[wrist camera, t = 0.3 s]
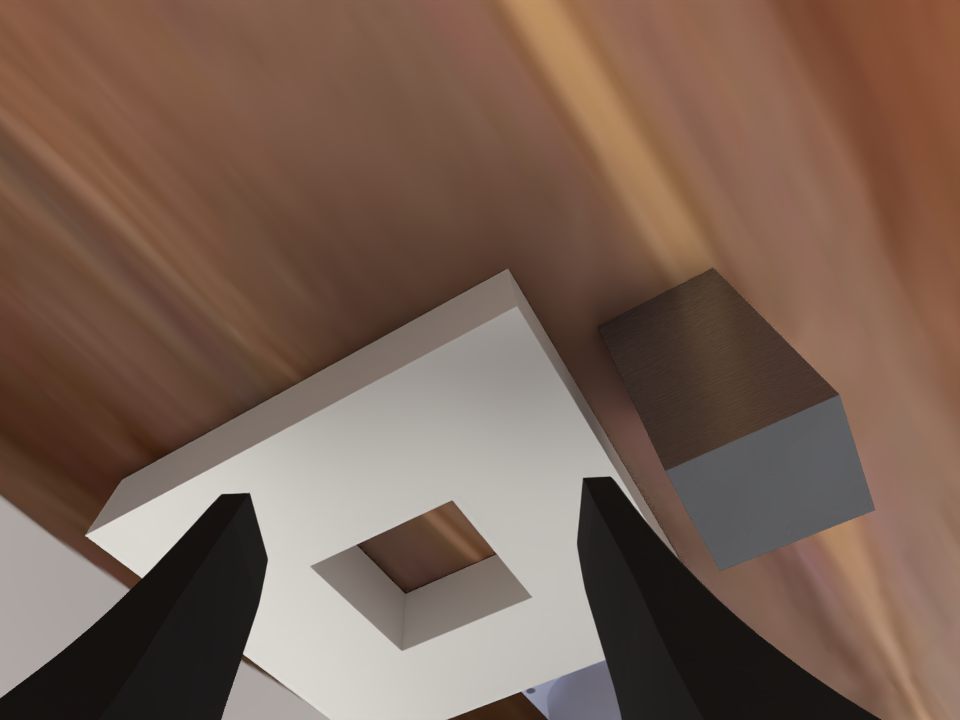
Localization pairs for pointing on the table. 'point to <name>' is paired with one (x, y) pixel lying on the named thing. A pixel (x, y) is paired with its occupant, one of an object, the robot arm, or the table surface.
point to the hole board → (404, 513)
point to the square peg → (737, 420)
